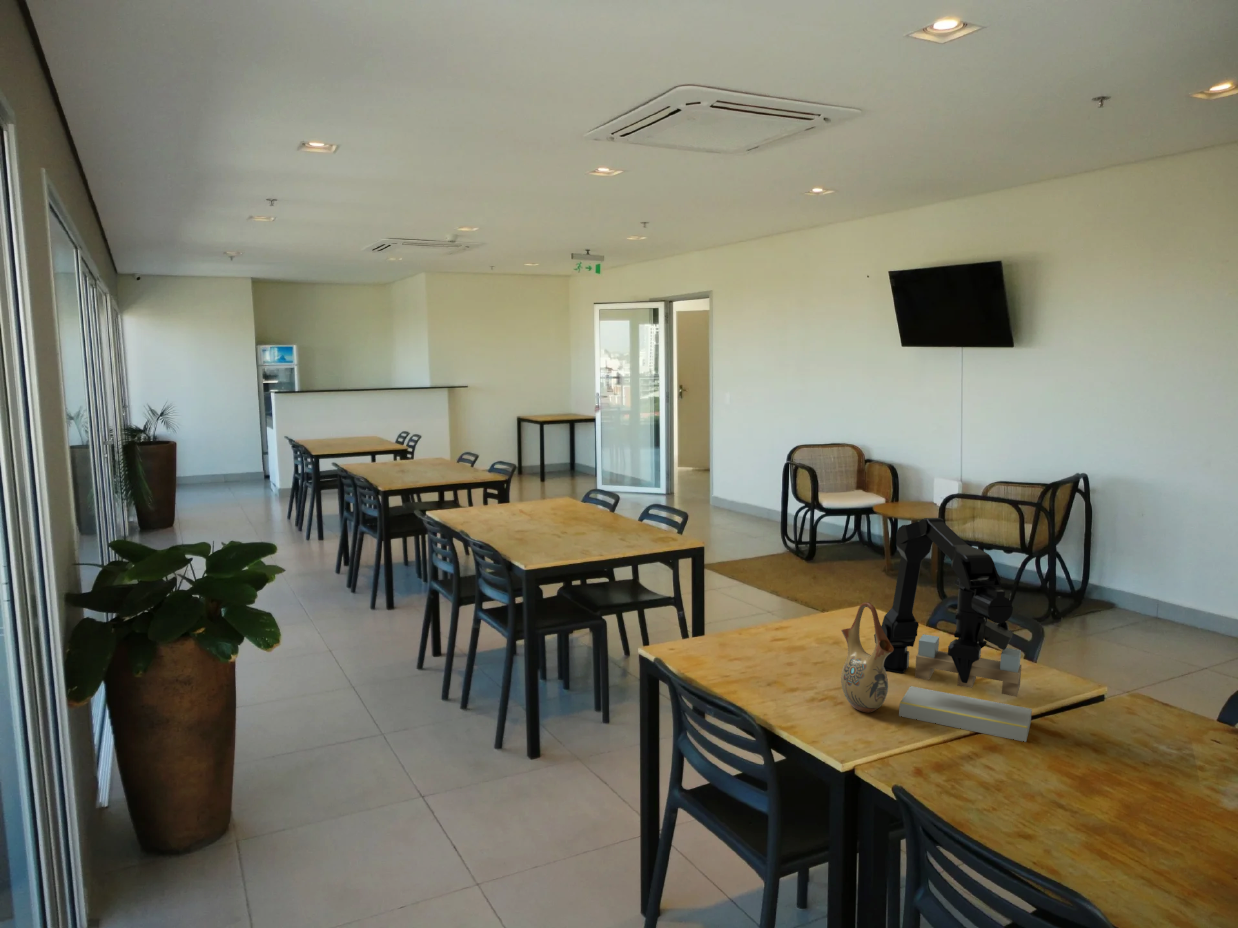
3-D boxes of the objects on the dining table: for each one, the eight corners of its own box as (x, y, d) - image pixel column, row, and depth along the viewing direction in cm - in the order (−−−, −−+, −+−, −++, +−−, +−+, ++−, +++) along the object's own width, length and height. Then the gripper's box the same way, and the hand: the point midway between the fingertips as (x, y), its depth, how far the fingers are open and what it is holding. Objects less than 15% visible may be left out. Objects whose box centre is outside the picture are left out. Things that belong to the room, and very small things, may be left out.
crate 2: (999, 669, 187) (1001, 653, 187) (1002, 662, 192) (1003, 647, 191) (1017, 672, 186) (1018, 656, 185) (1019, 665, 190) (1021, 650, 190)
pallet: (914, 677, 196) (916, 656, 195) (920, 668, 201) (921, 647, 201) (1016, 696, 186) (1018, 673, 185) (1019, 686, 191) (1021, 664, 191)
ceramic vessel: (825, 698, 205) (829, 594, 202) (856, 693, 209) (861, 591, 206) (870, 725, 190) (875, 614, 187) (903, 719, 194) (909, 610, 191)
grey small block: (918, 655, 196) (918, 640, 195) (922, 648, 200) (923, 634, 200) (934, 658, 194) (935, 642, 194) (938, 651, 198) (939, 636, 198)
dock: (899, 715, 196) (899, 702, 195) (909, 698, 206) (910, 685, 206) (1026, 741, 183) (1027, 727, 182) (1030, 721, 193) (1031, 708, 193)
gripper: (1006, 626, 179) (1001, 699, 181) (1015, 604, 196) (1010, 671, 198) (949, 618, 185) (945, 688, 187) (962, 597, 201) (958, 662, 203)
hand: (966, 677), depth 193 cm, fingers closed on pallet, 6 cm apart
